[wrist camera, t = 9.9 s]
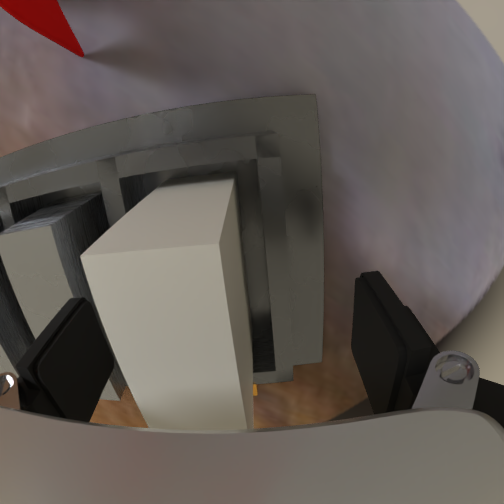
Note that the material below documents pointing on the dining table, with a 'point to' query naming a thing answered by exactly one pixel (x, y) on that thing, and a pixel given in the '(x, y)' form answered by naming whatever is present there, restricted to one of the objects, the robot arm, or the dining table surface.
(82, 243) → the rack
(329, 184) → the dining table surface
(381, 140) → the dining table surface
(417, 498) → the robot arm
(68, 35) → the rocket
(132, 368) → the block
